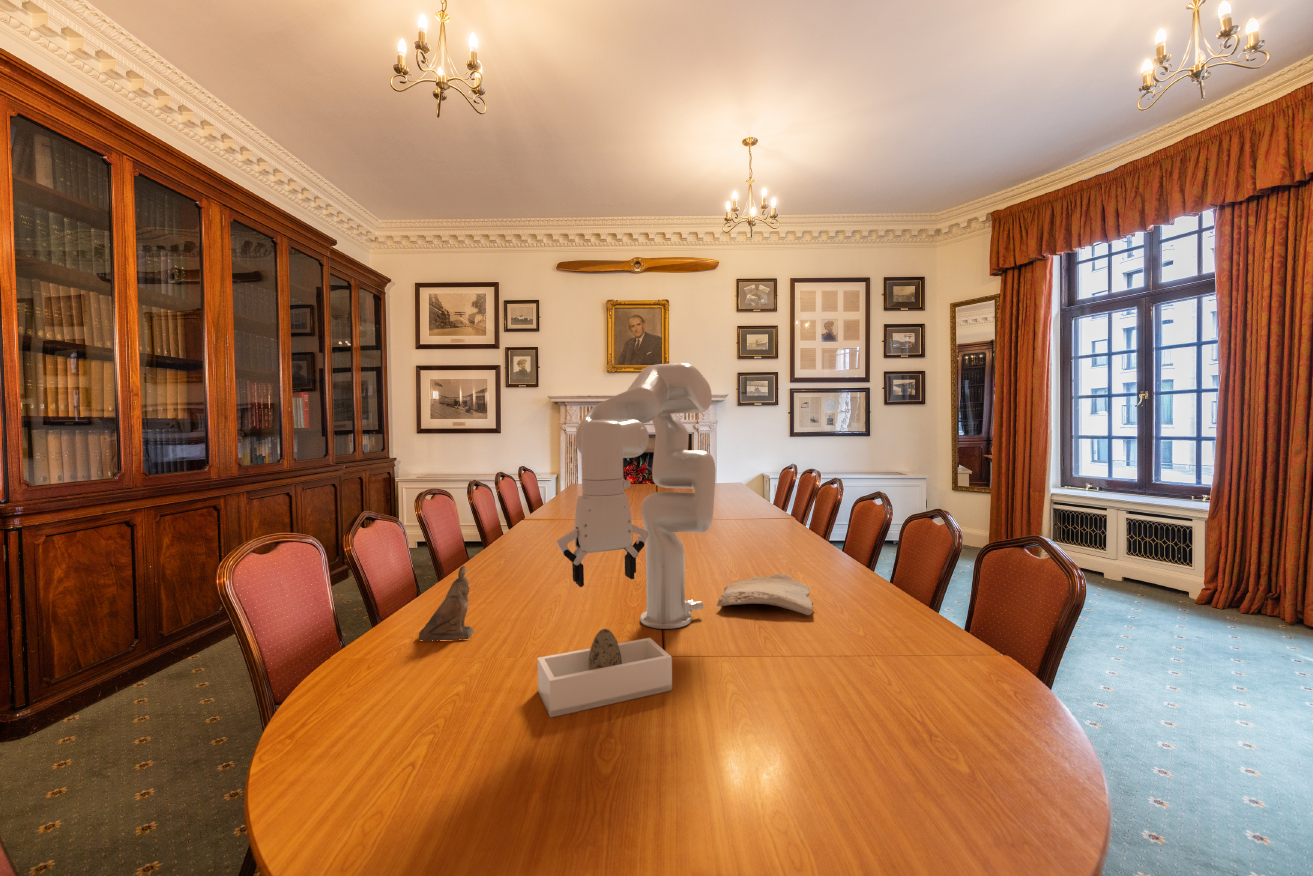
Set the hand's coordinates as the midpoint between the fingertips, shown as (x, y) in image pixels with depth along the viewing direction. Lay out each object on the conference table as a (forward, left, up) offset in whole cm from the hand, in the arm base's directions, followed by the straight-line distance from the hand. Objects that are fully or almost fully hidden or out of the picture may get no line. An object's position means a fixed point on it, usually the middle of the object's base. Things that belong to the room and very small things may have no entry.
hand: (605, 581), depth 98 cm
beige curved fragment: (-54, -26, -20) cm, 63 cm away
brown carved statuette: (+26, -38, -19) cm, 50 cm away
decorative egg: (+1, +2, -18) cm, 18 cm away
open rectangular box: (+1, +2, -19) cm, 19 cm away
